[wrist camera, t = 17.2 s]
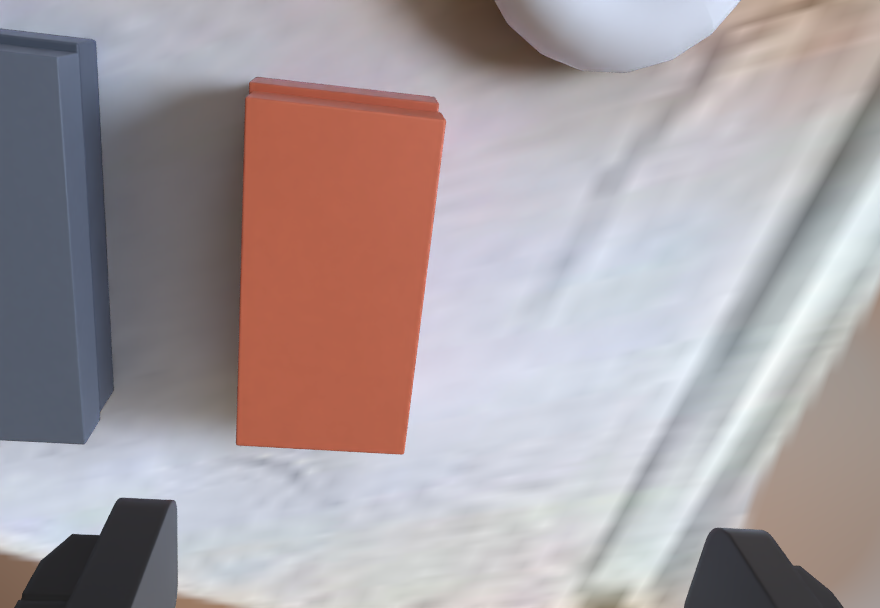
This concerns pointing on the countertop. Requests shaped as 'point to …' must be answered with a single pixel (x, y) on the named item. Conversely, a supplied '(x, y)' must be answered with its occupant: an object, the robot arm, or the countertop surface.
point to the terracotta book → (332, 270)
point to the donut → (614, 29)
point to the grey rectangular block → (52, 241)
